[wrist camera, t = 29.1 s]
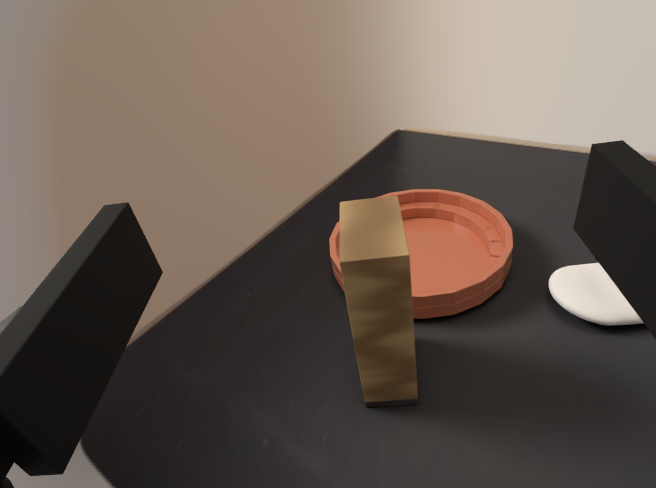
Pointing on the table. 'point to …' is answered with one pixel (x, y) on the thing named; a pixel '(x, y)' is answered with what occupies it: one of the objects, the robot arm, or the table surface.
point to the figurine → (591, 295)
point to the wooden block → (379, 299)
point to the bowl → (448, 250)
